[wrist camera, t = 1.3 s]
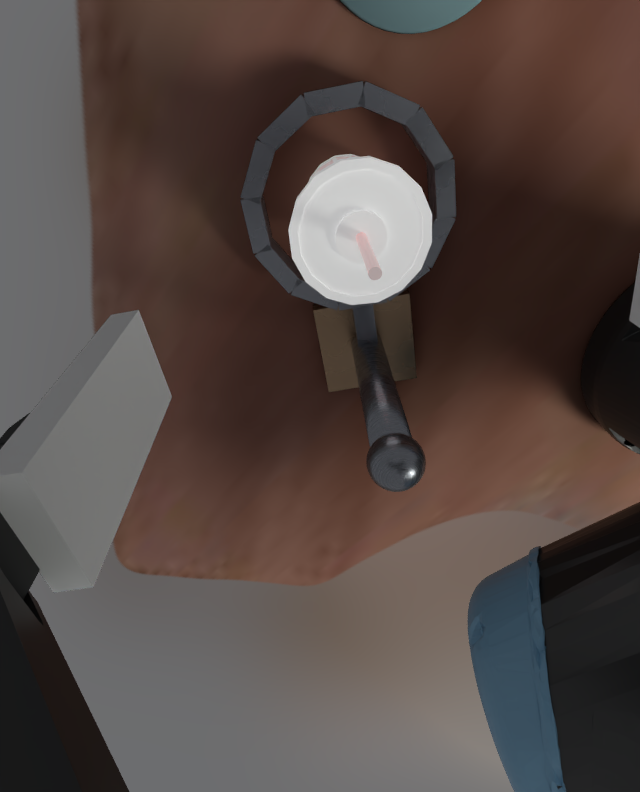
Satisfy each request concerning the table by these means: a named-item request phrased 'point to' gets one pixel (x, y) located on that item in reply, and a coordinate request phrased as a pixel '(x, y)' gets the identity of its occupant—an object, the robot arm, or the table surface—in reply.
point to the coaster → (409, 13)
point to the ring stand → (373, 322)
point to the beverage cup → (360, 229)
